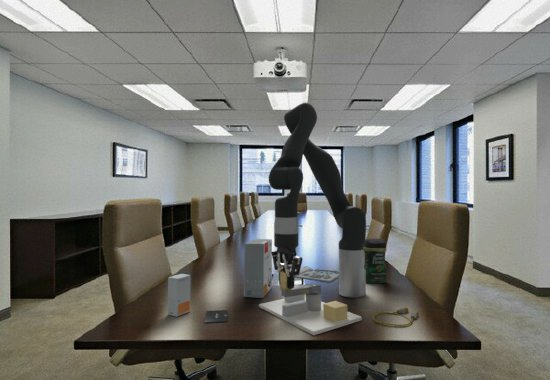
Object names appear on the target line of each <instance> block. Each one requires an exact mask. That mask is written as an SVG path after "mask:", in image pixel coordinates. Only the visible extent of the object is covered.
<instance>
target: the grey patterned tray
mask: <svg viewBox="0 0 550 380" xmlns="http://www.w3.org/2000/svg"><path fill="white" fill-rule="evenodd" d="M295 271H296V269H295ZM328 271H330V272H328ZM336 272H337V273H336ZM294 278H295V279H296V278H297V279H303V280H309V281H317V282H323V283H329V284H330V283H331V282H333V281H335V280H337V279H339V270H335V269H326V268H325V269H324V268H315V269H313V268H312V267H310V266H303V267H302V266H301V268H300V273H299V275H295V277H294Z"/></svg>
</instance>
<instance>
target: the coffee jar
mask: <svg viewBox="0 0 550 380" xmlns="http://www.w3.org/2000/svg"><path fill="white" fill-rule="evenodd" d="M387 250H388V248H387V242H386V240H385V239H383V238H366V239H365V243H364V268H365V270H366V283H369V284H385V283H386V282H387V281H388V280H387V279H388V278H387V277H388V276H387V267H386V252H387Z"/></svg>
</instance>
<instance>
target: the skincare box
mask: <svg viewBox="0 0 550 380" xmlns="http://www.w3.org/2000/svg"><path fill="white" fill-rule="evenodd" d="M191 280H192V277H191V274H186V273H179V274H175V275H173V276H169V277H167V315H169V316H173V317H179V316H181V315H185V314H186V313H190V312H191Z"/></svg>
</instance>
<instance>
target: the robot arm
mask: <svg viewBox="0 0 550 380" xmlns="http://www.w3.org/2000/svg"><path fill="white" fill-rule="evenodd" d="M317 114H318V113H317V112H316V108H314V106H313V105H312V104H311V103H309V102H308V101H307V102H302V103H299V104H297V105H296V106H295V107H293V108H292V109H289V110H288V111H286V113H284V115H283V116H284V117H283V121H284V124H285V125H286V128H287V129H288V131H289V133H290V136H288V138H287V140H286V141H285V143H284V144H283V148H282V150H281V153H280V154H281V155H280V157H279V158H278V159H277V161H276V162H275V164H274V165H273V166H272V168H271V169H270V172H269V174H268V183H269V186H270V187H271V188H272V189H273V190H276V191H282V190H284V191H287V190H288V191H289V193H288V194H287V196H282V197H279V198H276V199H275V201H274V222H273V232H274V233H273V242H274V243H273V245H274V247H275V248H276V250H274V251H273V250H272V264H273V267H274V270H275V271H277V274H278V284H279V286H280V271H284V270H286V271H287V288H288V289H291V288H294V287H295V278H296V277H295V275H299V273H300V268H302V263H303V256H298V255H297V250H296V249H297V248H298V246H299V220H298V219H299V218H298V202H299V197H300V192H301V189H302V187H303V186H302V185H303V181H304V173H303V171H302V169H301V168H300V167H301V165H302V161H303V156H304V158H305V160H306V162H307V164H308V166H309V169H310V171H311V172H312V175H313V177H314V178H315V180H316V182H317V183H318V186H319V187H320V190H321V192H322V193H323V195H324V196H325V199H326V201H327V202H328V205H329V207H330V210H331V212H332V214H333V218H334V220H335V223H336V224H337V226H338V227H340V228H341V229H342V234H341V235H342V236H341V239H340V240H339V241H338V271H339V277H338V293H339V295H340V296H341V297H345V298H362V297H364V296H365V295H366V293H367V291H366V290H367V285H366V284H367V282H366V270H365V268H364V261H365V252H364V243H365V239H367V236H366V235H367V217H366V213H365V212H364V210H363V209H362V208H360V207H358V206H352V204H351V203H350V201H349V200H348V197H347V196H346V194H345V191H344V189H343V181H342V176H341V173H340V170H339V168H338V165H337V164H336V163H337V162H335V159H334V158H333V156H332V155H331V154H330V153H328V151H325V150H324V149H323V148H321V147H320V146H318V145H316V144H315V143H314V142H312V140H311V139H310V136H311V135H312V132H313V130H314V128H315V126H316V125H317V122H318V115H317ZM295 270H296V271H295ZM290 271H291V272H290Z"/></svg>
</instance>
